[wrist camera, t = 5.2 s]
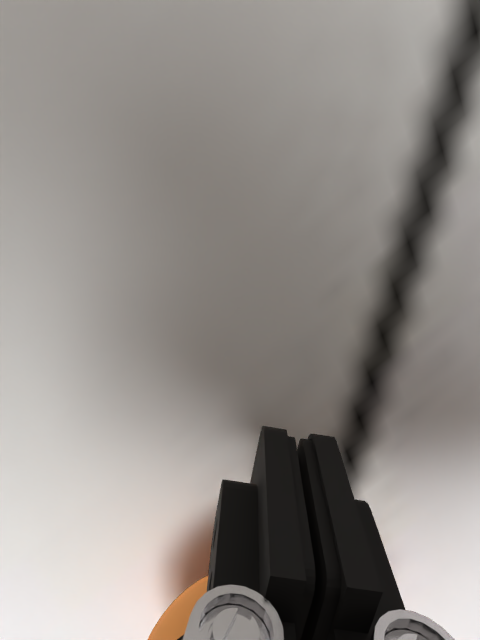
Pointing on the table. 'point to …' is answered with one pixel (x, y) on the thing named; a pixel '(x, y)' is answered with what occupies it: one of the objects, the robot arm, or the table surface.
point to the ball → (179, 613)
